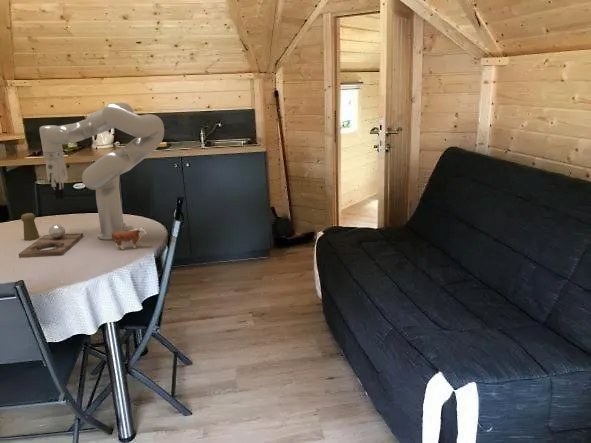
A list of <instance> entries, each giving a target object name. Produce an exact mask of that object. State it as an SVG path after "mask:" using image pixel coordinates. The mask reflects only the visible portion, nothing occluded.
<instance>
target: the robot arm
mask: <svg viewBox="0 0 591 443" xmlns="http://www.w3.org/2000/svg"><path fill="white" fill-rule="evenodd" d="M164 125H165V124H164V122H163V120H162V119H161V118H160V117H159V116H157V115H156V114H152V113H149V114H148V113H147V114H142V115H140V114H138V113H135V112H134V109H133V107H132V106H131V105H129V104H128V103H127V102H121V101H120V102H113V103H109V104H107V105H105V106H104V107H103V108H101V109H99V110H96V111H94V112H91V113H90V115H89V117H88V118H85V119H82V120H80V121H77V122H74V123H68V124H62V125H56V124H55V125H54V124H53V125H42V126H39V128H38V129H39V136H40V141H41V147H42V154H43V160H44V161H45V169H46V178H47V181H48V183H49V184H50V185H51V188H53V190H54V195H55V196H54V197H55V199H56V200H64V199H65V198H66V196H65V189H64V187H65V186H64V183H65V182H66V181H68V180H69V176H68V170H67V166H66V162H65V156H64V150H63V145H68V144H72V143H77V142H81V141H84V140H85V139H89V138H92V137H94V136H96V135H99V134H103V133H105V132H108V131H110V130H113V129H116V130H119V131H121V132H123V133H125V134H128V135H130V136H133V139H132V140H130V142H128V143H127V144H126V145H124V146H123V147H121V148H119V149H118V148H117V149H114V150H111V151H110V152H107V153H105V154H104V155H102V156H101V157H100V158H98V159H97V160H95V161H94V162H93V163H92V164H91V165H89V166H88V167H86V168H85V169H84V170H83V172H82V175H81V182H82V184H83V185H84V186H85V187H86V188H87V189H88V190H92V191H94V190H95V199H96V206H97V214H98V220H99V228H100V232H99V233H98V234H97V238H98V239H100V240H103V241H104V240H109V241H110V240H113V239H112V234H113V233H114V232H121V231H130V230H134V229H135V226H133V225H127V224H126V222H124V217H123V216H124V214H123V208H122V201H121V200H122V199H121V193H120V192H121V191H120V175H122V174H125V173H128V172H129V171H131V170H132V169H133V168H134V167H136V165H138V164H139V163H141V162H142V161H143V160H144V159H146V158H148V157H149V156H150V155H151V154H152V153H153V152H155V151H156V149H158V148H159V147H160V145H161V143H162V142H163V139H164V136H165V127H164ZM134 137H135V138H134ZM113 238H114V237H113Z"/></svg>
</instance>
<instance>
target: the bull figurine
mask: <svg viewBox="0 0 591 443" xmlns="http://www.w3.org/2000/svg"><path fill="white" fill-rule="evenodd" d="M146 235H148V233H147V232H146V229H145V228H144V227H140V228H138V227H136V228H134V230H130V231H121V232H114V233H113V234H112V239H111V240H113V241H114V242H113V243H114V244H115V246H116V248H118V249H120V250H122V251H123V250H126V248H125V247H124V246H123V245H122V242H124V243H125V244H128V242H133V244H132V245H133V247H132V248H133V249H137V247H141V244H139V241H140V240H141V239H142V238H143V237H144V236H146ZM113 237H114V238H113ZM136 246H137V247H136Z"/></svg>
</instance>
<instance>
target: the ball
mask: <svg viewBox="0 0 591 443" xmlns="http://www.w3.org/2000/svg"><path fill="white" fill-rule="evenodd" d="M48 233H49V235H51V237H53V238H55V239H59V238H62V237H63V236H64V234H66V229H65V227H64V226H63V225H61V224H58V223H57V224H53V225H51V226H50V228H49V231H48Z"/></svg>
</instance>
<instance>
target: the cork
mask: <svg viewBox="0 0 591 443" xmlns="http://www.w3.org/2000/svg"><path fill="white" fill-rule="evenodd" d="M20 216H21V217H20V220H21V222H23V239H24V241H35V240H38V239H40V238H41V236H40V234H39V231H38V228H37V225H36V222H35V220H36V215H35V214H34V213H32V212H26V213H24V214H22V215H20Z"/></svg>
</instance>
